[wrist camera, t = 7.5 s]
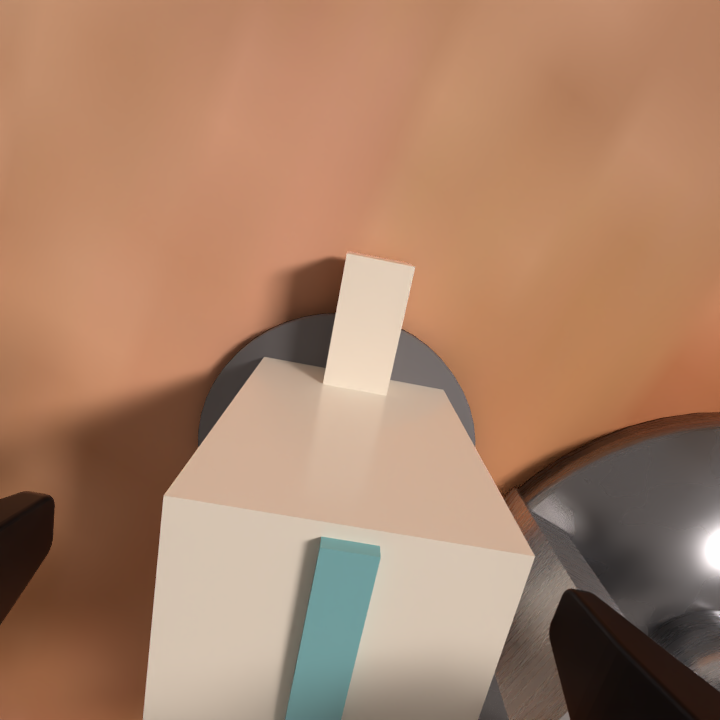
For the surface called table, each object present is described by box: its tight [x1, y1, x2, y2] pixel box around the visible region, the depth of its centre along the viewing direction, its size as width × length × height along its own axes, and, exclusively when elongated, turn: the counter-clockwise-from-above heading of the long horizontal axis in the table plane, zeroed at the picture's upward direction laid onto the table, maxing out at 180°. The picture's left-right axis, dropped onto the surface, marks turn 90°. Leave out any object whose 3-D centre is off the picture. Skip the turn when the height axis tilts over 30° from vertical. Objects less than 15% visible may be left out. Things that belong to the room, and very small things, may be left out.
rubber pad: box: [198, 313, 475, 447], centre depth 12 cm, size 7×7×1 cm
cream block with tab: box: [143, 251, 535, 720], centre depth 9 cm, size 10×4×6 cm, turn 169°
